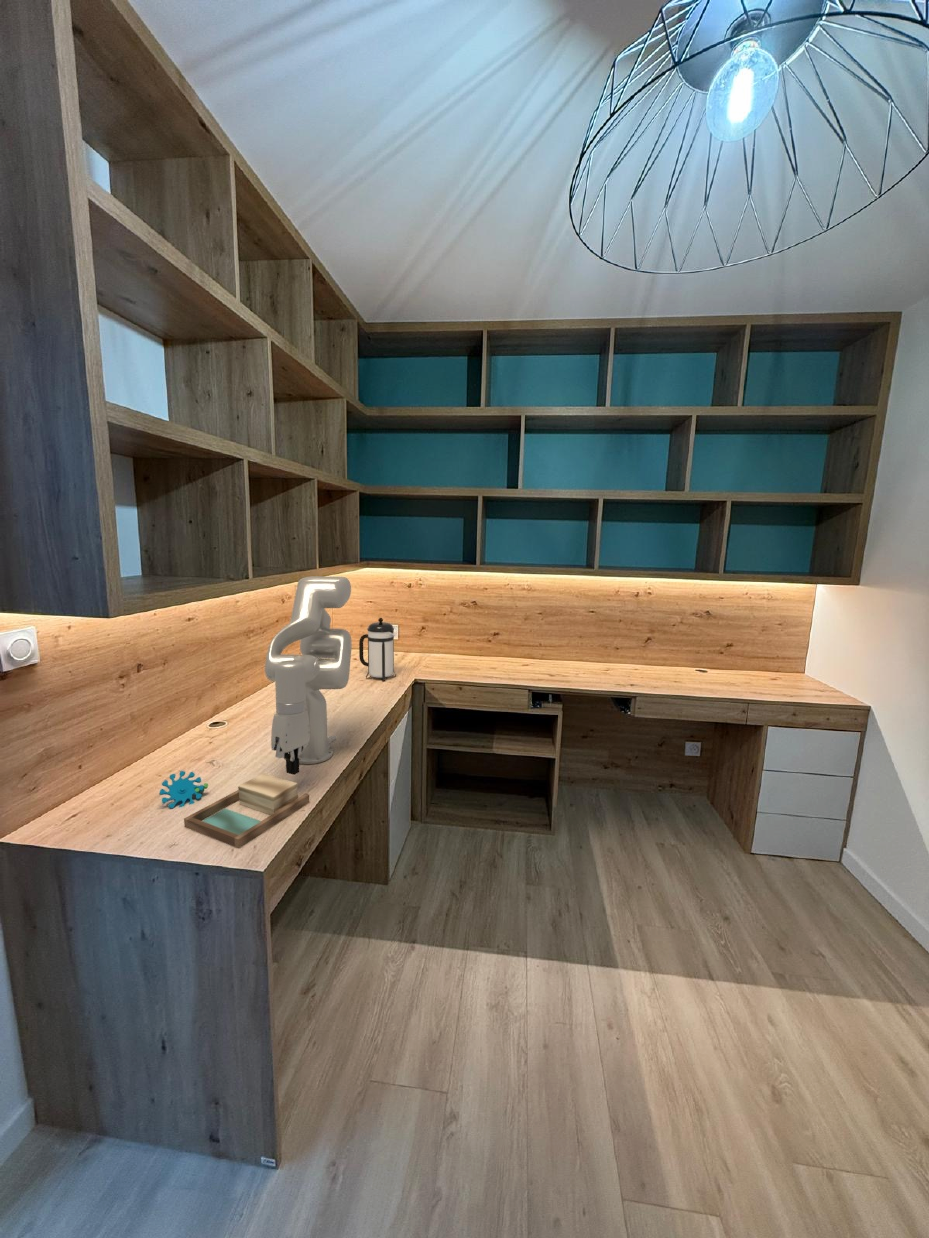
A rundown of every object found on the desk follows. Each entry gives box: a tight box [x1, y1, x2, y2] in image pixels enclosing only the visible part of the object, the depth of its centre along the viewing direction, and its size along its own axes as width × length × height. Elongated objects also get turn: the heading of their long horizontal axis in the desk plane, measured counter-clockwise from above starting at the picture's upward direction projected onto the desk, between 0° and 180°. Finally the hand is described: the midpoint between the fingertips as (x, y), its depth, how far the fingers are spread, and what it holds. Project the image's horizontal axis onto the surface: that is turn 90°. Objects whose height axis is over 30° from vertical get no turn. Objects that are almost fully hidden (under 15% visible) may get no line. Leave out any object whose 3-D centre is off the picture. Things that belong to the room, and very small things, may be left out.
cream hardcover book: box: [237, 772, 299, 816], centre depth 130 cm, size 8×12×5 cm
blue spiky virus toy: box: [159, 770, 209, 809], centre depth 132 cm, size 11×6×10 cm
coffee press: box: [358, 617, 397, 682], centre depth 247 cm, size 17×16×30 cm
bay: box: [183, 789, 310, 849], centre depth 125 cm, size 22×18×3 cm
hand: (292, 772), depth 136 cm, fingers closed
